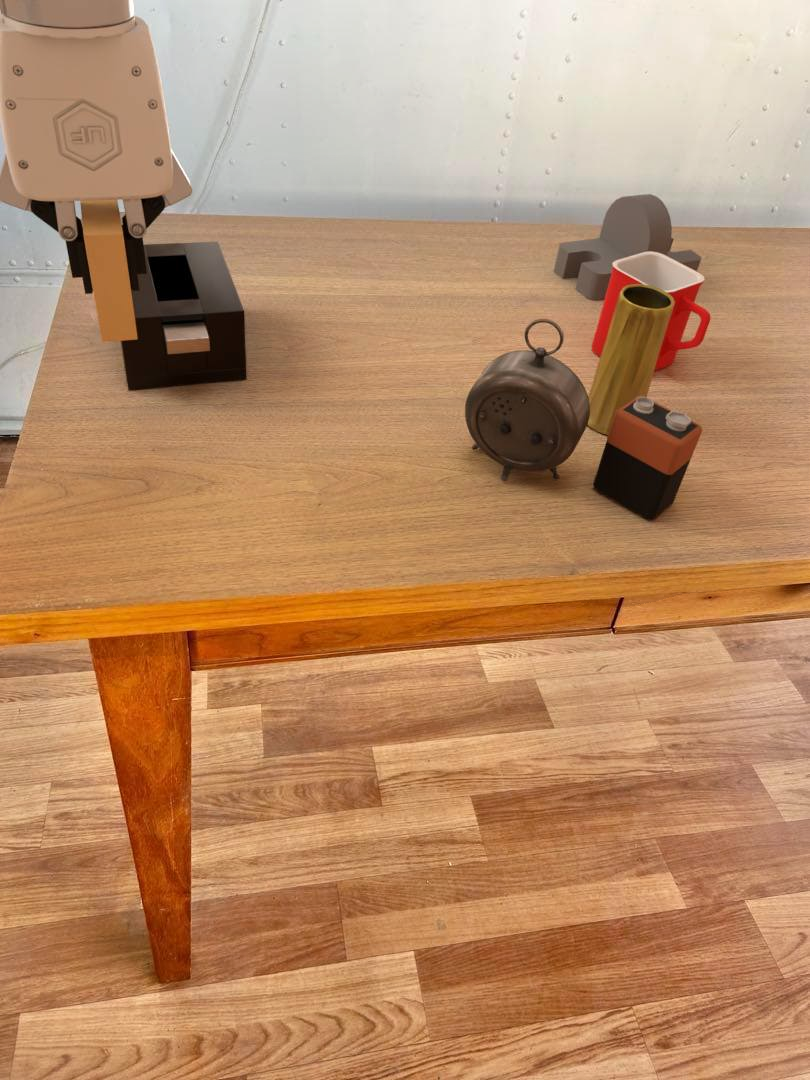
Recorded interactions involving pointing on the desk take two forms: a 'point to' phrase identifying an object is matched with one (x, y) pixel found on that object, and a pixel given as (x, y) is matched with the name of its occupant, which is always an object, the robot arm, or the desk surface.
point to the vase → (629, 352)
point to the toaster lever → (186, 338)
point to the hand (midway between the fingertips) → (111, 281)
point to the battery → (646, 456)
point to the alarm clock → (527, 410)
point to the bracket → (620, 244)
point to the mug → (669, 279)
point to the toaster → (185, 318)
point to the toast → (108, 269)
